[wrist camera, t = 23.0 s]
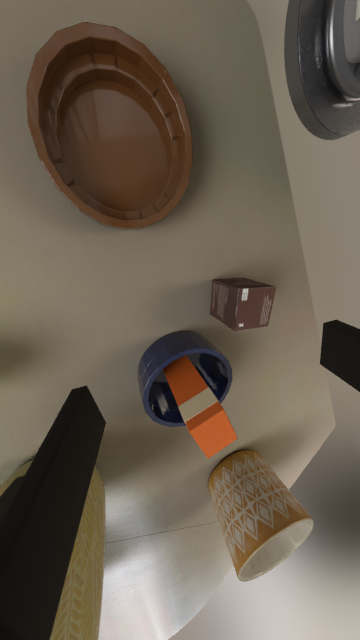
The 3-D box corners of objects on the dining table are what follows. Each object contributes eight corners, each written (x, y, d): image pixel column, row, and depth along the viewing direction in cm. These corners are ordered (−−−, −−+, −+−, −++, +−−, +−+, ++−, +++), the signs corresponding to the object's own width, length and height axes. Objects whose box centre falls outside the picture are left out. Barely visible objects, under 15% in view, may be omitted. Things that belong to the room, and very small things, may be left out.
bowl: (146, 37, 19) (154, -3, 16) (198, 200, 26) (210, 195, 22) (0, 90, 17) (-24, 57, 14) (98, 250, 24) (96, 251, 21)
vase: (38, 522, 37) (-80, 1006, 14) (-37, 484, 29) (-632, 1493, 6) (121, 473, 40) (141, 808, 16) (73, 426, 32) (-24, 950, 8)
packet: (183, 350, 33) (224, 408, 21) (197, 375, 36) (238, 438, 24) (160, 364, 32) (188, 432, 21) (175, 388, 35) (207, 459, 24)
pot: (198, 315, 32) (216, 329, 27) (223, 373, 39) (241, 393, 34) (120, 360, 30) (123, 385, 25) (160, 412, 37) (169, 440, 32)
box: (238, 311, 35) (268, 327, 28) (208, 314, 33) (233, 332, 26) (243, 277, 32) (277, 286, 26) (211, 278, 30) (239, 288, 24)
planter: (247, 433, 50) (303, 511, 36) (269, 458, 59) (321, 528, 45) (189, 481, 49) (222, 580, 35) (221, 499, 59) (258, 583, 44)
